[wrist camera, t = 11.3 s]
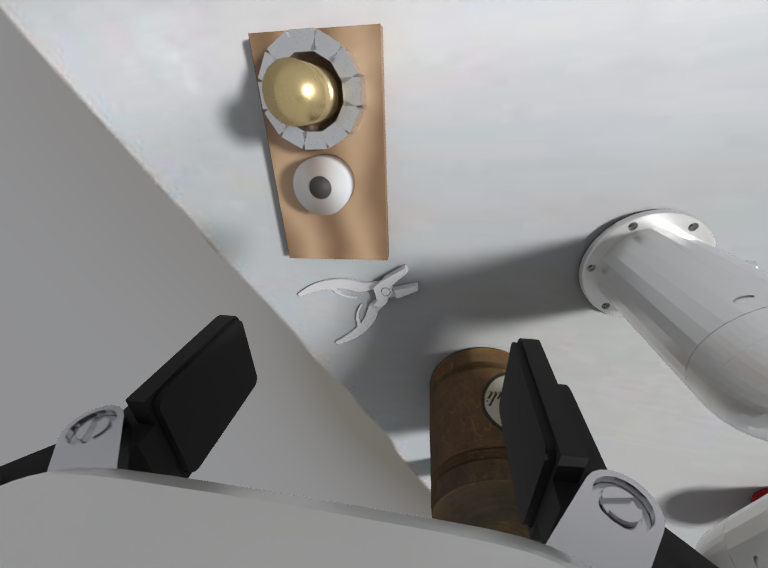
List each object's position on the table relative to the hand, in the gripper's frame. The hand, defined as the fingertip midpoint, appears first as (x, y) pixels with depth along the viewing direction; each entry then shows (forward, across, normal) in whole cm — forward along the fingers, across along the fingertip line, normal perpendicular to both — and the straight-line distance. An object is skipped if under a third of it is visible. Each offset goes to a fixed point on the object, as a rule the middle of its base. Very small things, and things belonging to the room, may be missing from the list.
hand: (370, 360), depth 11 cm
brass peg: (+26, +9, -9) cm, 29 cm away
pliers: (+28, +7, +14) cm, 32 cm away
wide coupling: (+26, +10, -9) cm, 29 cm away
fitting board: (+27, +10, -3) cm, 29 cm away
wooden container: (+28, -10, +28) cm, 41 cm away
